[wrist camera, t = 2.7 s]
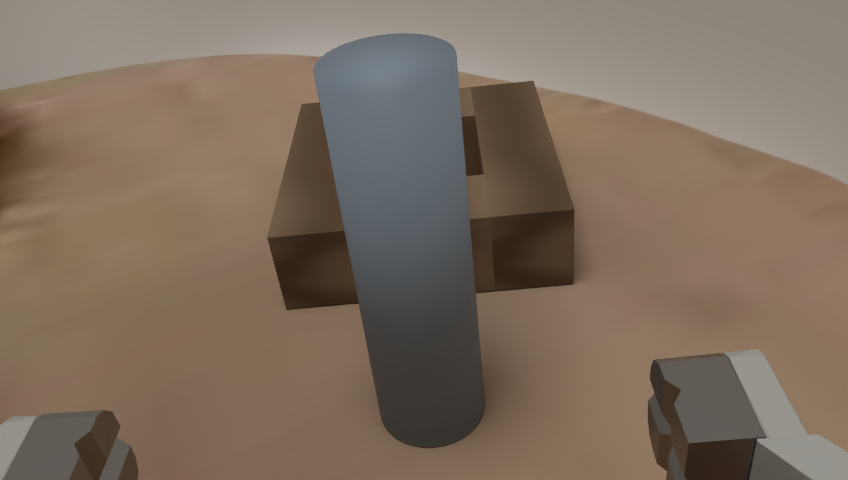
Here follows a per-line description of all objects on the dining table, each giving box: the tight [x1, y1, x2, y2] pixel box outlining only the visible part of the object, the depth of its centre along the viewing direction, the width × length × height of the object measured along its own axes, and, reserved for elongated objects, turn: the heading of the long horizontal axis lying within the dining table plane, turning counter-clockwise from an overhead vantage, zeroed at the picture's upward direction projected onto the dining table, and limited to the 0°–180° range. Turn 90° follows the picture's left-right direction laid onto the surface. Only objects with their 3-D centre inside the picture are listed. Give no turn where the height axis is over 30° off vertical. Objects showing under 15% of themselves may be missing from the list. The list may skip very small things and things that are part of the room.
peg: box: [313, 34, 484, 448], centre depth 26 cm, size 4×4×14 cm
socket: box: [267, 81, 574, 309], centre depth 39 cm, size 13×13×4 cm
